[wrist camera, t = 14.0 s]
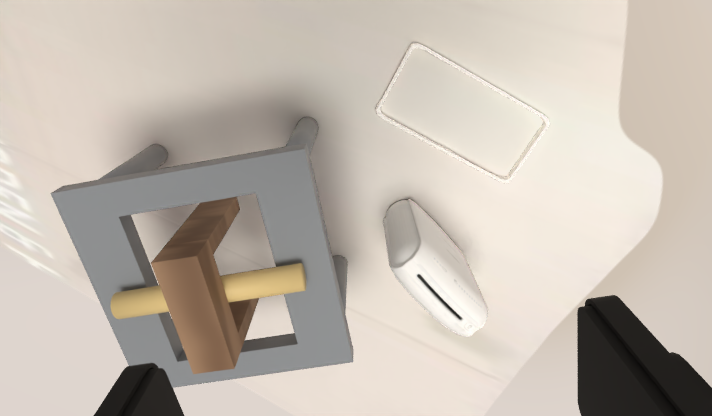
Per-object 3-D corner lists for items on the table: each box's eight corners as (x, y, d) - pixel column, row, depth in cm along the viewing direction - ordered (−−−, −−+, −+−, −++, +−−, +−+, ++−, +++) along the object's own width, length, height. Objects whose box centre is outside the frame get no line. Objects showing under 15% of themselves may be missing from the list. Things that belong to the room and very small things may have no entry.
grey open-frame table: (194, 298, 53) (130, 410, 38) (137, 142, 46) (32, 204, 31) (354, 273, 51) (352, 379, 36) (320, 109, 44) (300, 157, 30)
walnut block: (230, 293, 43) (193, 374, 33) (201, 201, 40) (151, 262, 30) (262, 288, 43) (234, 368, 33) (236, 196, 39) (196, 256, 30)
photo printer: (470, 257, 50) (503, 328, 39) (439, 280, 52) (462, 356, 40) (408, 189, 48) (424, 246, 36) (376, 216, 49) (382, 278, 37)
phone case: (548, 117, 45) (412, 39, 43) (553, 120, 44) (414, 40, 41) (503, 181, 48) (373, 111, 45) (507, 186, 46) (373, 114, 44)
